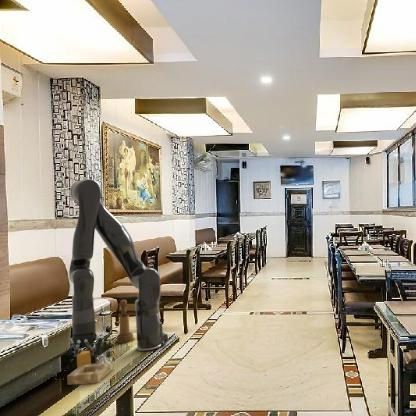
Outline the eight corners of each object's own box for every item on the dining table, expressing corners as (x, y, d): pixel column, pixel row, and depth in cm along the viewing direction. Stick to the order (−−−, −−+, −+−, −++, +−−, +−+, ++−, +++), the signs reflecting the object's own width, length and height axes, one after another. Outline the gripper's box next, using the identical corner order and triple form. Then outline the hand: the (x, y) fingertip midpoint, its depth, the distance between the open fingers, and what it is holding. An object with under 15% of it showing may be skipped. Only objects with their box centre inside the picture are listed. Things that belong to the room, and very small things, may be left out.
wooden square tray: (110, 370, 154) (110, 362, 154) (98, 382, 144) (97, 374, 144) (82, 372, 153) (81, 364, 153) (67, 384, 143) (67, 376, 143)
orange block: (83, 364, 162) (82, 351, 162) (95, 363, 162) (94, 350, 162) (77, 368, 157) (76, 355, 157) (89, 368, 158) (89, 354, 157)
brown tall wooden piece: (122, 343, 184) (120, 302, 183) (113, 341, 187) (111, 300, 187) (136, 339, 189) (134, 298, 189) (127, 337, 193) (125, 297, 192)
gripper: (107, 316, 163) (110, 360, 164) (69, 318, 163) (71, 362, 163) (99, 321, 156) (101, 368, 156) (58, 324, 155) (61, 370, 155)
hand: (86, 365), depth 160 cm, fingers closed on orange block, 4 cm apart
